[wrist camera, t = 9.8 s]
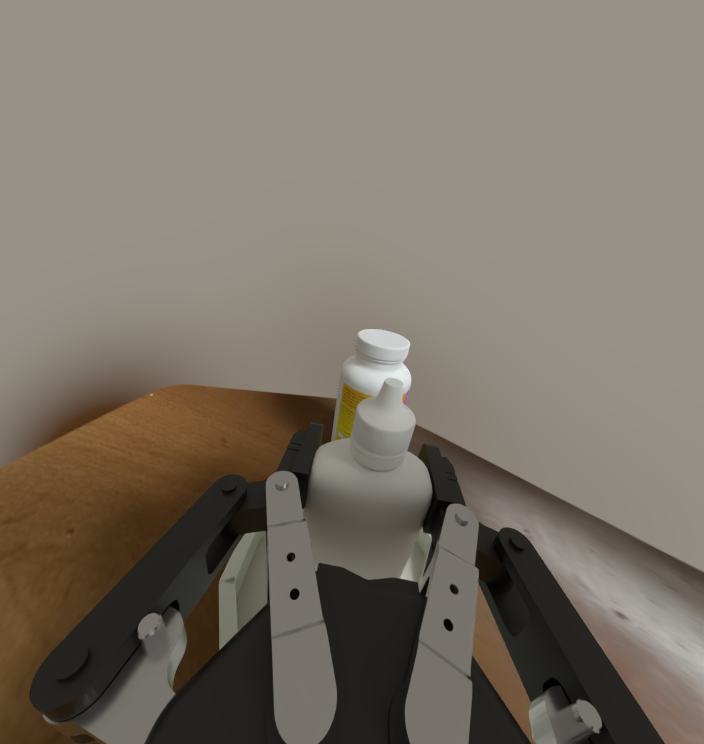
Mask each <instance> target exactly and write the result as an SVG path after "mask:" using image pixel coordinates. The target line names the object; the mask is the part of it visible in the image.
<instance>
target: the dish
mask: <svg viewBox="0 0 704 744" xmlns="http://www.w3.org/2000/svg"><path fill="white" fill-rule="evenodd" d="M303 510H304V509H302V511H303ZM431 541H432V538H431V534H427V533H423V527H422V528H421V530H420V533H419V535H418V537H417V540H416V542H415V545H414V547H413V549H412V552H411V554H410V556H409V559H408V561H407V563H406V566H405V568H404V570H403V573H402V575H401V577H400V579H405V580H410V581H415V582H418V585H419V582H420V578H421V575H422V571H423V567H424V564H425V560H426V557H427V553H428V549H429V546H430V543H431ZM266 604H267V564H266V531H260V532H253V533H247V534H245V535H244V536H243V538H242V539H241V541H240V542H239V544H238V545H237V546H236V548H235V549H234V551H233V553H232V555H231V557H230V559H229V562H228V564H227V566H226V568H225V570H224V572H223V574H222V576H221V578H220V580H219V650H220V649H221V648H222V647H223V646H224V645H225V644H226V643H227V642H228V641H229V640H230V639H231V638H232V637H233V636H234V635H235V634H236V633H237V632H238V631H239V630H240V629H241V628H242V627H243V626H245V625H246V624H247V623H248V622H249V621H250V620H251V619H252V618H253V617H254V616H255V615H256V614H257V613H258V612H259V611H260V610H261V609H262V608H263V607H264V606H265V605H266Z"/></svg>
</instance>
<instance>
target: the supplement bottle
mask: <svg viewBox="0 0 704 744" xmlns="http://www.w3.org/2000/svg"><path fill="white" fill-rule="evenodd" d="M355 346H356V351H357V353H356V354H355V355H352V356H350V357H349V358H348V359H347V360H346V361H345V362H344V363H343V365H342V368H341V374H340V381H339V388H338V395H337V402H336V409H335V416H334V423H333V430H332V438H331V442H332V441H336V440H340V439H345V438H351V433H352V428H353V422H354V417H355V412H356V407H357V405H358V404H359V403H360V402H361V401H362V400H364V399H366V398H369V397H377V396H378V394H379V392H380V389H381V387H382V385H383V383H384V381H385V379H386V378H396V379H398V380H400V381H402V382H403V397H402V403H403V404H404V405H405V402H406V399H407V396H408V392H409V389H410V385H411V375H410V372H409V370H408V369H407V367H406V366H405V365H404V364H403V361H404V360H405V358H406V357H407V355H408V350H409V347H410V343H409V341H408V340H407V339H406V338H404V337H403V336H401V335H398V334H396V333H393V332H389V331H385V330H378V329H366V330H362V331H360V332H359V333H358V335H357V340H356V345H355Z"/></svg>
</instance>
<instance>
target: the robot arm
mask: <svg viewBox="0 0 704 744" xmlns="http://www.w3.org/2000/svg"><path fill="white" fill-rule="evenodd" d="M323 429H324V425H323V424H317V423H312V422H311V423H310V426H309V428H308V431H304V430H299V431H298V432H296V433H295V434H294V435H293V437H292V439H291V441H290V444H289V445H288V447H287V450H286V452H285V454H284V456H283V458H282V461H281V463H280V465H279V467H278V469H277V471H276V473H274V474H272V475H271V476H270V477H269V478H268V479H267V480H264V481H260V482H250V483H246V480H245V479H244V478H243V477H242V476H239V475H227V476H224V477H222V478H220V479H219V480H217V481H216V482H215V483H214V484H213V485H212V486H211V487H210V488H209V489H208V490H207V491H206V492H205V493H204V495H203V496H202V497H201V498H200V499H199V500H198V501H197V502H196V503H195V504H194V505H193V506H192V507H191V508H190V509H189V510H188V511H187V512H186V513H185V514H184V515H183V516H182V517H181V518H180V519H179V520H178V522H177V523H176V524H175V525H174V526H173V527H172V528H171V529H170V530H169V531H168V532H167V533H166V534H165V535H164V536H163V537H162V538H161V539H160V540H159V541H158V542H157V543H156V544H155V545H154V546H153V547H152V548H151V550H150V551H149V552H148V553H147V554H146V555H145V556H144V557H143V558H142V559H141V560H140V561H139V562H138V563H137V564H136V565H135V566H134V567H133V568H132V569H131V570H130V571H129V572H128V573H127V574H126V575H125V577H124V578H123V579H122V580H121V581H120V582H119V583H118V584H117V585H116V586H115V587H114V588H113V589H112V590H111V591H110V592H109V593H108V594H107V595H106V596H105V597H104V598H103V599H102V600H101V601H100V602H99V604H98V605H97V606H96V607H95V608H94V609H93V610H92V611H91V612H90V613H89V614H88V615H87V616H86V617H85V618H84V619H83V620H82V621H81V622H80V623H79V624H78V625H77V626H76V627H75V628H74V629H73V630H72V632H71V633H70V634H69V635H68V636H67V637H66V638H65V639H64V640H63V641H62V642H61V643H60V644H59V645H58V646H57V647H56V648H55V649H54V650H53V651H52V652H51V653H50V655H49V656H48V657H47V658H46V659H45V661H44V662H43V663H42V665H41V666H40V668H39V669H38V671H37V673H36V675H35V677H34V679H33V682H32V684H31V689H30V700H31V703H32V704H33V706H34V707H35V708H36V709H38V710H39V711H40V712H41V713H42V714H43V717H44V719H45V720H46V721H47V722H48V723H49V724H50V725H52V726H53V727H54V728H55V729H56V730H58V731H59V732H60V733H61V734H63V735H65V736H70V737H71V738H72V739H73V740H75V741H76V742H79V743H87V742H91V741H93V740H96V741H98V742H99V743H101V744H531V742H530V741H529V740H528V738H527V737H526V735H525V734H524V732H523V731H522V729H521V728H520V726H519V725H518V723H517V722H516V720H515V719H514V717H513V716H512V714H511V713H510V711H509V710H508V708H507V707H506V705H505V704H504V702H503V701H502V699H501V698H500V696H499V695H498V693H497V692H496V690H495V689H494V687H493V686H492V684H491V683H490V681H489V680H488V678H487V677H486V675H485V674H484V672H483V671H482V669H481V668H480V666H479V665H478V663H477V662H476V660H475V659H474V657H473V656H472V648H473V636H474V625H475V613H476V602H477V590H478V582H479V585H480V587H481V589H482V592H483V594H484V596H485V598H486V601H487V603H488V605H489V608H490V610H491V612H492V614H493V617H494V619H495V621H496V624H497V626H498V628H499V630H500V633H501V635H502V637H503V640H504V642H505V644H506V646H507V649H508V651H509V653H510V655H511V658H512V660H513V662H514V665H515V667H516V669H517V671H518V674H519V676H520V678H521V681H522V683H523V685H524V687H525V690H526V692H527V694H528V697H529V699H530V701H531V704H530V708H529V719H530V724H531V728H532V737H533V741H534V743H535V744H665V743H664V742H663V740H662V739H661V737H660V736H659V734H658V733H657V731H656V730H655V728H654V727H653V725H652V724H651V722H650V721H649V719H648V718H647V716H646V715H645V713H644V712H643V710H642V709H641V707H640V706H639V704H638V703H637V701H636V700H635V698H634V697H633V695H632V694H631V692H630V691H629V689H628V688H627V686H626V685H625V683H624V682H623V680H622V679H621V677H620V676H619V674H618V673H617V671H616V670H615V668H614V667H613V665H612V664H611V662H610V661H609V659H608V658H607V656H606V655H605V653H604V652H603V650H602V649H601V647H600V646H599V644H598V643H597V641H596V640H595V638H594V637H593V635H592V634H591V632H590V631H589V629H588V628H587V626H586V625H585V623H584V622H583V620H582V619H581V617H580V616H579V614H578V613H577V611H576V610H575V608H574V607H573V605H572V604H571V602H570V601H569V599H568V598H567V596H566V595H565V593H564V592H563V590H562V589H561V587H560V586H559V584H558V583H557V581H556V580H555V578H554V577H553V575H552V574H551V572H550V571H549V569H548V568H547V566H546V565H545V563H544V562H543V560H542V559H541V557H540V556H539V554H538V553H537V551H536V550H535V548H534V547H533V545H532V544H531V542H530V541H529V540H528V539H527V538H526V537H525V536H524V535H523V534H522V533H520V532H519V531H517V530H515V529H512V528H502V529H501V530H500V531H499V532H497V531H495V530H493V529H490V528H488V527H486V526H484V525H482V524H481V523H479V522H478V519H477V517H476V516H475V514H474V513H473V512H472V511H471V510H470V509H468V508H467V507H466V505H465V502H464V499H463V496H462V493H461V490H460V487H459V484H458V482H457V477H456V475H455V471H454V468H453V465H452V464H451V463H450V462H449V460H448V459H447V458H446V457H441V455H440V451H439V448H438V446H434V445H429V444H423V445H422V448H421V451H420V453H419V456H418V458H419V459H420V460H421V461H422V462H423V463H424V464H425V466H426V467H427V470H428V472H429V476H430V480H431V484H432V490H433V495H432V501H431V505H430V508H429V510H428V513H427V515H426V518H425V521H424V523H423V525H422V527H423V533H427V534H431V538H432V541H431V543H430V546H429V549H428V553H427V557H426V560H425V564H424V567H423V571H422V575H421V578H420V582H419V585H418V582H415V581H410V580H405V579H400V578H395V577H392V578H383V579H374V580H367V579H365V578H363V577H361V576H359V575H357V574H355V573H353V572H351V571H349V570H347V569H345V568H343V567H339V566H334V565H329V564H323V563H318V568H317V571H315V568H314V562H313V556H312V550H311V544H310V538H309V532H308V526H307V522H306V519H304V517H303V511H302V509H304V507H305V500H306V492H307V484H308V477H309V472H310V468H311V464H312V461H313V458H314V455H315V452H316V450H317V449H318V448H319V447H320V446H321V444H322V437H323ZM260 531H266V564H267V604H266V605H265V606H264V607H263V608H262V609H261V610H260V611H259V612H258V613H257V614H256V615H255V616H254V617H253V618H252V619H251V620H250V621H249V622H248V623H247V624H246V625H245V626H243V627H242V628H241V629H240V630H239V631H238V632H237V633H236V634H235V635H234V636H233V637H232V638H231V639H230V640H229V641H228V642H227V643H226V644H225V645H224V646H223V647H222V648H221V649H220V650H219V651H218V652H217V653H216V654H215V655H214V656H213V657H212V658H211V659H210V660H209V661H208V662H207V663H206V664H205V665H204V666H203V667H202V668H201V669H200V670H199V671H198V672H197V673H196V674H195V675H194V676H193V677H192V678H191V679H190V680H189V681H188V682H187V683H186V684H185V685H184V686H183V687H182V688H181V689H180V690H179V691H178V692H177V693H175V692H173V681H174V676H175V672H176V670H177V667H178V665H179V663H180V661H181V659H182V657H183V655H184V652H185V649H186V645H187V634H186V630H185V626H184V623H185V622H186V620H187V619H188V617H189V616H190V614H191V613H192V611H193V610H194V608H195V607H196V605H197V604H198V603H199V601H200V600H201V598H202V597H203V595H204V594H205V592H206V591H207V589H208V588H209V586H210V585H211V583H212V582H213V580H214V579H215V577H216V576H217V575H218V573H219V572H220V570H221V569H222V567H223V566H224V564H225V563H226V561H227V560H228V558H229V557H230V555H231V554H232V552H233V551H234V549H235V548H236V546H237V545H238V544H239V542H240V541H241V539H242V538H243V536H244V535H245V534H247V533H253V532H260Z"/></svg>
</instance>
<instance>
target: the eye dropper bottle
mask: <svg viewBox="0 0 704 744" xmlns="http://www.w3.org/2000/svg"><path fill="white" fill-rule="evenodd" d="M402 397H403V382H402V381H400V380H398V379H396V378H386V379H385V381H384V383H383V385H382V387H381V389H380V392H379V394H378V396H377V397H369V398H366V399H364V400H362V401H361V402H360V403H359V404H358V405H357V407H356V412H355V417H354V422H353V428H352V433H351V438H345V439H340V440H336V441H332V442H329V443H326V444H324V445H322V446H320V447H319V448H318V449H317V450H316V452H315V455H314V458H313V461H312V464H311V468H310V472H309V477H308V484H307V492H306V500H305V507H304V510H303V517H304V519H306V522H307V526H308V532H309V538H310V544H311V550H312V556H313V562H314V568H315V571H317V568H318V563H323V564H329V565H334V566H339V567H343V568H345V569H347V570H349V571H351V572H353V573H355V574H357V575H359V576H361V577H363V578H365V579H367V580H374V579H383V578H392V577H395V578H400V577H401V575H402V573H403V570H404V568H405V566H406V563H407V561H408V559H409V556H410V554H411V552H412V549H413V547H414V545H415V542H416V540H417V537H418V535H419V533H420V530H421V528H422V525H423V523H424V521H425V518H426V515H427V513H428V510H429V508H430V505H431V501H432V495H433V490H432V484H431V480H430V476H429V472H428V470H427V467H426V466H425V464H424V463H423V462H422V461H421V460H420V459H419V458H418V457H416V456H415V455H413V454H412V453H410V452H409V451H407V450H408V447H409V444H410V441H411V437H412V434H413V431H414V428H415V425H416V419H415V416H414V414H413V412H412V411H411V410H410V409H409V408H408V407H407V406H406V405H404V404H403V403H402Z"/></svg>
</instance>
